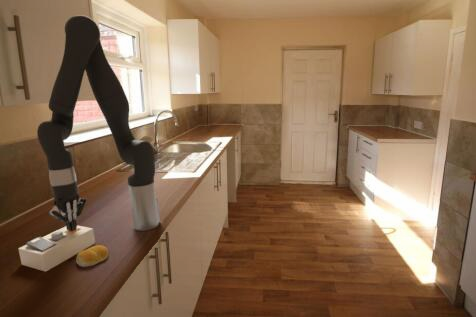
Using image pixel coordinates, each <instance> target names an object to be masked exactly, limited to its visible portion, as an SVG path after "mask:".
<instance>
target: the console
mask: <svg viewBox="0 0 476 317" xmlns="http://www.w3.org/2000/svg"><path fill="white" fill-rule="evenodd" d="M77 228H78V231H77V232H75V233H73V234H69V233H68V232H67V231H68V230H67V228H66V225H65V226H64V227H61V228H60V229H57V230H55V231H53V232H51V233H49V234H47V235H45V236H43V237H42V236H41V238H43V239H45V240H47V241H49V242H51V243H53V244H55V246H53V247H51V248H49V249H47V250H45V251H43V252H39V251H36V250H34V249H32V248H30V247H28V246H27V244H24V245H22V246H20V247H18V248H17V249H18V253H19V258H20V263H21V265H22V266H25V267H29V268H31V269H36V270H39V271H43V272H47V271H50V270H51V269H53V268H55V267H56V266H58V265H60V264H61V263H64V262H65V261H67V260H68V259H70V258H72V257H74V256H77V255H78V253H79V252H81V251H83V250H87V249H89V248H90V247H92V246H94V245H95V244H96V238H95V232H94V228H92V227H87V226H82V225H78V224H77ZM58 231H62V232H63V237H64V238H63V239H61V240H59V241H57V242H55V241H52V236H51V234H52V233H55V232H58Z"/></svg>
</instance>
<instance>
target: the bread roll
mask: <svg viewBox="0 0 476 317" xmlns="http://www.w3.org/2000/svg"><path fill="white" fill-rule="evenodd" d="M108 255H109V250H108V248H107V247H106V246H104V245H102V244H97V245H92V246H90V247H88V248H86V249H84V250H83V251H81V252H79V253H77V254H76V258H75V260H76V264H77V265H78V266H79V267H82V268H87V267H91V266H95V265H97V264H98V263H102V262H104V261H105V260H106V259H107V258H108V257H109V256H108Z"/></svg>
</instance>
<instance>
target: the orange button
mask: <svg viewBox="0 0 476 317" xmlns="http://www.w3.org/2000/svg"><path fill="white" fill-rule="evenodd" d="M77 231H78V228H76V230H74V231H69V230H68V231H67V232H68V233H69V234H73V233H75V232H77Z"/></svg>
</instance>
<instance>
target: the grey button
mask: <svg viewBox="0 0 476 317" xmlns="http://www.w3.org/2000/svg"><path fill="white" fill-rule="evenodd" d="M54 232H55V231H54ZM51 233H52V234H51V236H52V241H55V242H57V241H59V240H61V239H63V238H64V237H63V232H62V231H58V232H55V233H53V232H51Z"/></svg>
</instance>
